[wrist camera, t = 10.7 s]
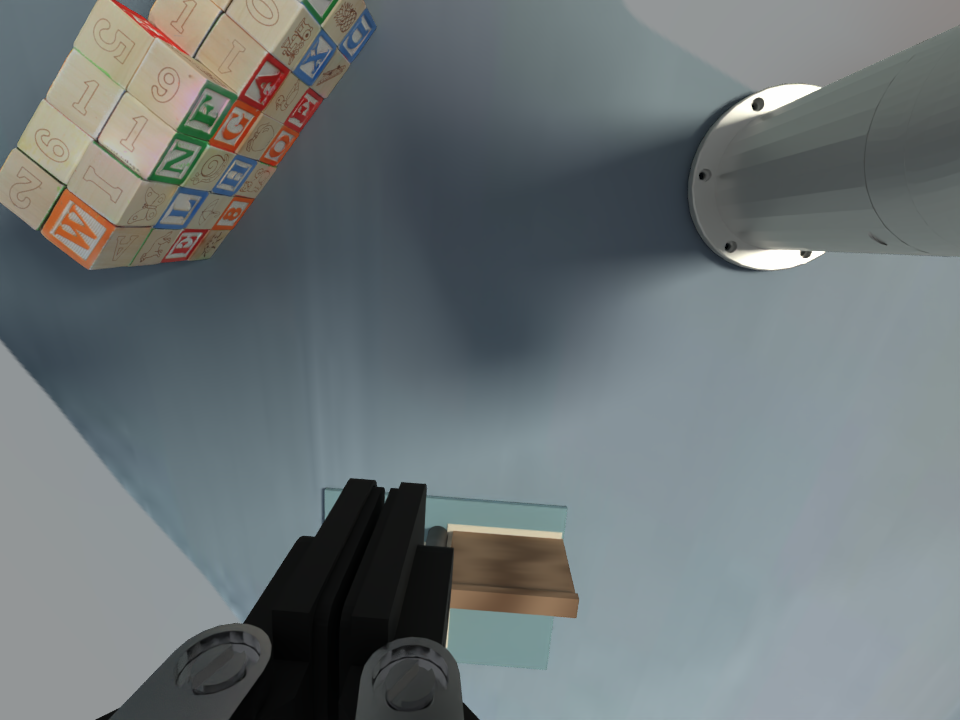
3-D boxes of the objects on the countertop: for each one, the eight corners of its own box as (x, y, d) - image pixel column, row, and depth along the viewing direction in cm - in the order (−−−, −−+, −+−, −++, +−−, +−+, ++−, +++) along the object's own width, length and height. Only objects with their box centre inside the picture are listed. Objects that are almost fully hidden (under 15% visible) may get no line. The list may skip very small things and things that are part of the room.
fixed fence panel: (564, 535, 43) (579, 598, 35) (561, 553, 43) (576, 619, 36) (428, 525, 43) (414, 585, 36) (427, 543, 43) (414, 606, 36)
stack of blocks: (308, -41, 33) (205, -196, 21) (379, 28, 34) (319, -85, 22) (142, 207, 38) (-20, 192, 26) (210, 262, 39) (83, 272, 27)
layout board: (566, 506, 43) (567, 509, 42) (546, 666, 47) (546, 670, 46) (326, 487, 43) (324, 490, 42) (326, 648, 47) (325, 653, 46)
